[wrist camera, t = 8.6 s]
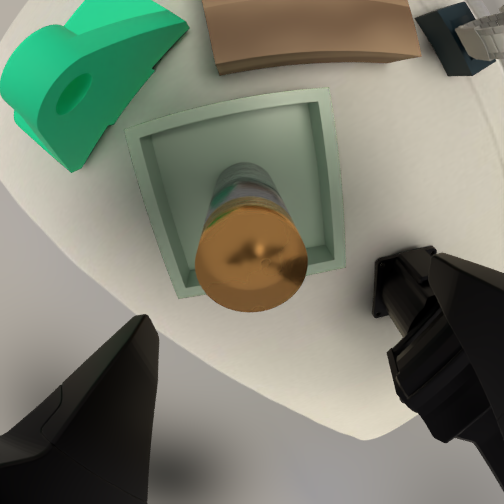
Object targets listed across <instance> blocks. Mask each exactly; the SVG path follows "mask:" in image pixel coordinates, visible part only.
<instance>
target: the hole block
mask: <svg viewBox="0 0 504 504" xmlns="http://www.w3.org/2000/svg"><path fill="white" fill-rule="evenodd" d="M202 3H203V7H204V12H205V17H206V22H207V26H208V31H209V36H210V40H211V45H212V50H213V55H214V59H215V64H216V67H217V69H218V72H219V74H220V76H221V75H226V74H231V73H237V72H243V71H249V70H255V69H262V68H269V67H277V66H286V65H297V64H310V63H330V62H371V63H391V62H395V61H400V60H405V59H410V58H415V57H421V51H420V46H419V41H418V37H417V33H416V29H415V25H414V21H413V18H412V14H411V11H410V7H409V4H408V1H407V0H202Z"/></svg>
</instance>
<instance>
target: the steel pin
mask: <svg viewBox="0 0 504 504" xmlns="http://www.w3.org/2000/svg"><path fill="white" fill-rule="evenodd" d="M307 268H308V256H307V251H306V248H305V245H304V243H303V241H302V238H301V236H300V234H299V232H298V230H297V228H296V226H295V224H294V222H293V220H292V218H291V216H290V214H289V212H288V210H287V208H286V206H285V204H284V202H283V200H282V198H281V196H280V194H279V192H278V190H277V188H276V186H275V184H274V182H273V180H272V178H271V176H270V175H269V174H268V172H267V171H266V170H265V169H263V168H262V167H261V166H259V165H257V164H254V163H249V162H240V163H236V164H233V165H231V166H229V167H227V168H226V169H225V170H224V171H223V172H222V173H221V174H220V175H219V177H218V179H217V181H216V184H215V188H214V191H213V194H212V198H211V201H210V205H209V208H208V212H207V215H206V219H205V223H204V226H203V230H202V234H201V237H200V241H199V245H198V249H197V253H196V257H195V272H196V276H197V279H198V281H199V284H200V286H201V287H202V289H203V290H204V292H205V293H206V294H207V295H208V296H209V297H210V298H211V299H212V300H214V301H215V302H216V303H218V304H220V305H222V306H224V307H226V308H228V309H232V310H235V311H240V312H259V311H265V310H269V309H271V308H274V307H276V306H279V305H281V304H282V303H284V302H286V301H287V300H288V299H289V298H291V297H292V296H293V295H294V294H295V293H296V292H297V290H298V289H299V288H300V286H301V285H302V283H303V281H304V279H305V276H306V273H307Z"/></svg>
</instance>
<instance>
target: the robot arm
mask: <svg viewBox="0 0 504 504" xmlns="http://www.w3.org/2000/svg"><path fill="white" fill-rule="evenodd" d="M436 253H437V250H436V249H435V248H434V247H433V246H430V247H426V248H419V249H415V250H411V251H406V252H402V253H400V254H397V255H392V256H388V257H384V258H380V259H378V260H377V262H376V267H375V284H374V298H373V309H372V314H373V316H374V317H375V318H379V317H383V316H387V315H389V316H390V317H391V319H392V320H393V322H394V323H395V325H396V327H397V328H398V330H399V332H400V333H401V335H402V336H403V339H402V340H401V341H400V342H399V343H398V344H397V345H395V346H394V347H393V348H391V349H390V350H389V351H388V352H387V356H388V360H389V365H390V369H391V373H392V377H393V381H394V385H395V390H396V394H397V395H398V396H399V398H400V401H401V402H402V403H405V404H406V405H407V406H408V407H409V408H410V409H411V410H412V411H414V412H416V413H418V414H419V415H420V416H421V418H422V419H423V420H424V422H425V423H426V425H427V427H428V429H429V430H430V432H431V434H432V435H433V437H434V438H435V439H437V440H440V441H441V442H443V443H448V442H449V441H451V440H452V439H453V438H458V439H461V440H465V441H469V442H472V443H474V445H475V446H476V447H477V449H478V450H479V452H480V453H481V455H482V456H483V458H484V460H485V461H486V463H487V465H488V466H489V468H490V469H491V471H492V473H493V474H494V476H495V478H496V479H497V481H498V483H499V484H500V486H501V488H502V489H503V491H504V273H502V272H499V271H496V270H493V269H491V268H488V267H485V266H482V265H479V264H476V263H473V262H470V261H467V260H464V259H461V258H458V257H455V256H452V255H449V254H446V253H439V254H436ZM381 263H383V264H382V265H381ZM380 265H381V266H380ZM158 359H159V336H158V333H157V331H156V329H155V327H154V325H153V323H152V321H151V319H150V318H149V316H148V315H146V314H143V315H136V316H134V317H133V318H132V319H130V320H129V321H128V322H127V323H126V324H125V325H124V326H123V327H122V328H121V329H119V330H118V331H117V332H116V333H115V334H114V335H113V336H112V337H111V338H110V339H109V340H108V341H107V342H105V343H104V344H103V345H102V346H101V347H100V348H99V349H98V350H97V351H96V352H95V353H94V354H93V355H91V356H90V357H89V358H88V359H87V360H86V361H85V362H84V363H83V364H82V365H81V366H80V367H79V368H78V369H77V370H76V371H74V372H73V374H71V375H70V376H69V377H68V378H67V379H66V380H65V381H64V382H63V383H62V385H60V386H59V387H58V388H57V389H56V390H55V391H54V392H53V393H51V395H49V396H48V397H47V398H46V399H45V400H44V401H43V402H42V403H41V404H40V405H39V406H37V407H36V408H35V409H34V410H33V411H31V412H30V413H29V414H28V415H27V416H26V417H24V418H23V419H22V420H21V421H20V422H19V423H17V424H16V425H15V426H14V427H13V428H12V429H11V430H9V431H8V432H7V433H5V434H3V435H1V436H0V504H147V496H148V476H149V460H150V448H151V437H152V427H153V418H154V409H155V401H156V393H157V384H158Z"/></svg>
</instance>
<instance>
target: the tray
mask: <svg viewBox="0 0 504 504" xmlns="http://www.w3.org/2000/svg"><path fill="white" fill-rule="evenodd" d="M124 132H125V136H126V140H127V144H128V148H129V152H130V156H131V159H132V163H133V167H134V170H135V174H136V177H137V181H138V184H139V187H140V191H141V194H142V197H143V201H144V204H145V207H146V210H147V213H148V216H149V219H150V222H151V226H152V229H153V231H154V234H155V237H156V240H157V243H158V246H159V249H160V252H161V254H162V257H163V260H164V263H165V265H166V268H167V271H168V273H169V276H170V279H171V281H172V284H173V287H174V289H175V292H176V294H177V297H178V299H181V298H187V297H193V296H199V295H205V294H206V293H205V292H204V290H203V289H202V287H201V286H200V284H199V281H198V279H197V276H196V272H195V257H196V253H197V249H198V245H199V241H200V237H201V234H202V230H203V226H204V223H205V219H206V215H207V212H208V208H209V205H210V201H211V198H212V194H213V191H214V188H215V184H216V181H217V179H218V177H219V175H220V174H221V173H222V172H223V171H224V170H225V169H226V168H227V167H229V166H231V165H233V164H236V163H240V162H249V163H254V164H257V165H259V166H261V167H262V168H263V169H265V170H266V171H267V172H268V174H269V175H270V176H271V178H272V180H273V182H274V184H275V186H276V188H277V190H278V192H279V194H280V196H281V198H282V200H283V202H284V204H285V206H286V208H287V210H288V212H289V214H290V216H291V218H292V220H293V222H294V224H295V226H296V228H297V230H298V232H299V234H300V236H301V238H302V241H303V243H304V245H305V248H306V251H307V256H308V268H307V273H306V276H307V275H312V274H317V273H322V272H327V271H331V270H336V269H341V268H345V267H346V256H345V229H344V210H343V196H342V183H341V172H340V162H339V153H338V144H337V136H336V129H335V121H334V115H333V108H332V102H331V95H330V90H329V87H326V88H312V89H302V90H292V91H284V92H276V93H269V94H262V95H256V96H250V97H244V98H239V99H234V100H228V101H224V102H219V103H214V104H210V105H205V106H201V107H197V108H193V109H189V110H185V111H181V112H178V113H174V114H171V115H167V116H164V117H160V118H157V119H154V120H151V121H147V122H144V123H141V124H138V125H135V126H132V127H129V128H127V129H124Z"/></svg>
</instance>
